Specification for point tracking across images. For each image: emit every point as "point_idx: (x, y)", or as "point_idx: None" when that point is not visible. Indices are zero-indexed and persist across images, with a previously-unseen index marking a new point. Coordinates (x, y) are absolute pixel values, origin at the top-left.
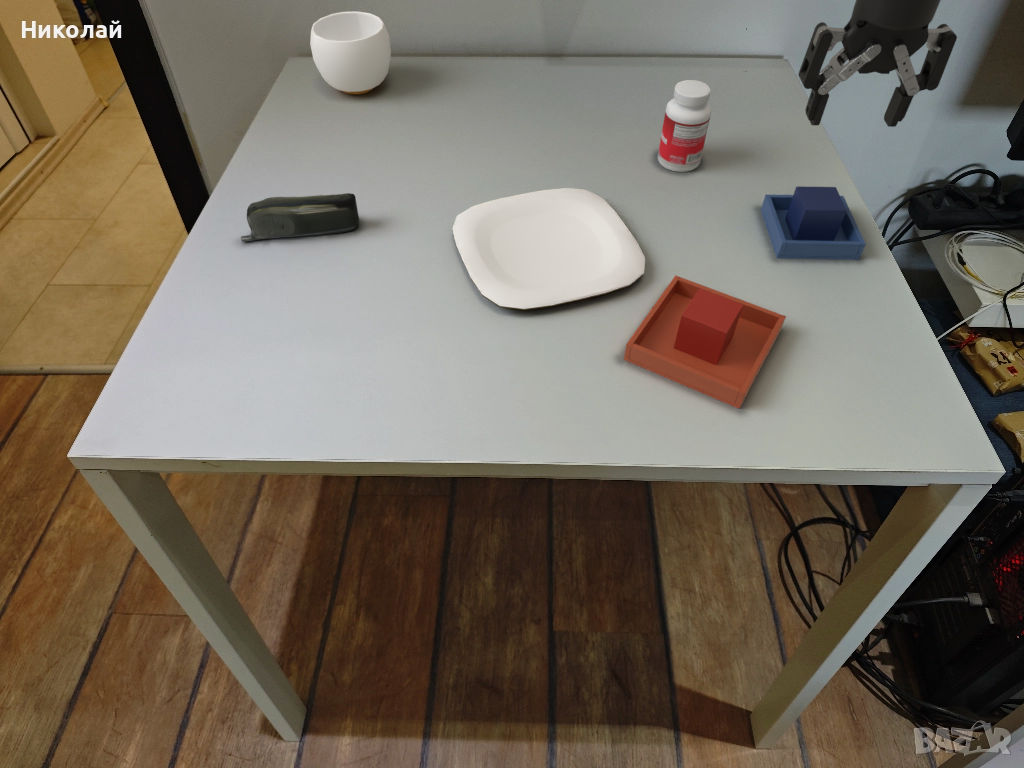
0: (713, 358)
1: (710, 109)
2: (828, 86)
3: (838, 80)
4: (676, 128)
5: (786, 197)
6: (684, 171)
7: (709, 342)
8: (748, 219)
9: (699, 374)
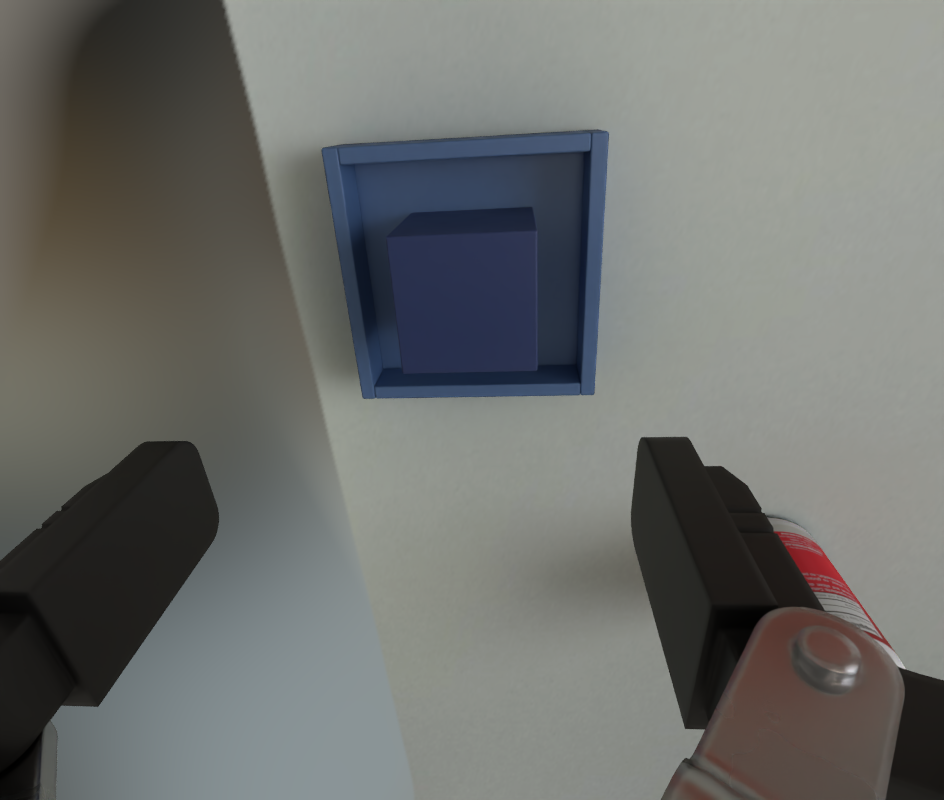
0: None
1: None
2: (806, 693)
3: (732, 771)
4: (870, 624)
5: (532, 383)
6: None
7: None
8: (633, 328)
9: None
